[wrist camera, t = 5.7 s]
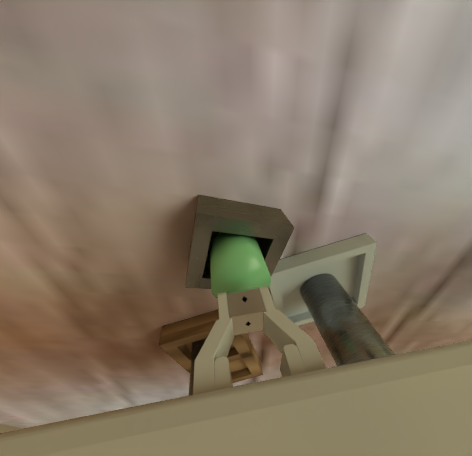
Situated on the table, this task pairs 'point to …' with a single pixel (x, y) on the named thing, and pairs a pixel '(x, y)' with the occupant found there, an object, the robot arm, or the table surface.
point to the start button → (236, 263)
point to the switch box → (235, 222)
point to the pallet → (197, 328)
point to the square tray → (318, 262)
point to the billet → (341, 322)
